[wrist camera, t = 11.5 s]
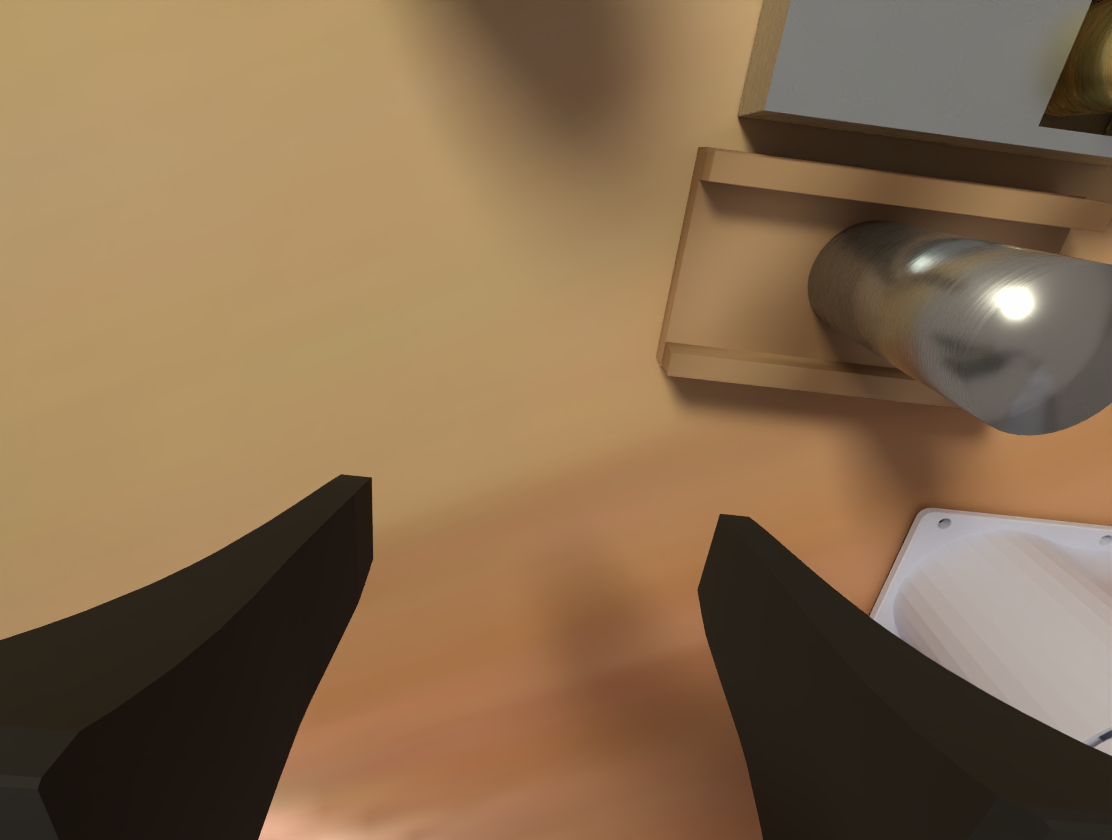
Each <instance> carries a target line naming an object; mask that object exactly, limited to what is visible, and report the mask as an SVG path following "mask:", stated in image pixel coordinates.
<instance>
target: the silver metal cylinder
mask: <svg viewBox="0 0 1112 840" xmlns="http://www.w3.org/2000/svg"><path fill="white" fill-rule="evenodd" d="M808 297H809V301H810V304H811V307H812V309H813V311H814V312H815V314H816V315H817V317H818V318H819V319H820V320H821V321H823V322H824V323H825V324H827V325H828V326H830V327H831V328H833V329H835V330H836V331H838V332H840V333H841V334H843V335H844V336H846V337H848V338H849V339H851V340H852V341H854V342H856V343H857V344H859V345H861V346H862V347H864V348H865V349H867V350H869V351H870V352H872V353H873V354H875V355H877V356H878V357H880V358H882V359H883V360H885V361H886V362H888V363H890V364H891V365H893V366H895V367H896V368H898V369H899V370H901V371H903V372H904V373H906V374H907V375H909V376H911V377H912V378H914V379H916V380H917V381H919V382H920V383H922V384H924V385H925V386H927V387H928V388H930V389H932V390H933V391H935V392H937V393H938V394H940V395H941V396H943V397H945V398H946V399H948V400H950V401H951V402H953V403H954V404H956V405H958V406H959V407H961V408H962V409H964V410H966V411H967V412H969V413H971V414H972V415H974V416H975V417H977V418H979V419H980V420H982V421H983V422H985V423H987V424H988V425H990V426H992V427H994V428H996V429H998V430H1000V431H1003V432H1006V433H1010V434H1016V435H1041V434H1047V433H1052V432H1056V431H1060V430H1063V429H1066V428H1068V427H1071V426H1074V425H1076V424H1078V423H1080V422H1082V421H1084V420H1086V419H1088V418H1090V417H1092V416H1093V415H1095V414H1096V413H1098V412H1100V411H1101V410H1102V409H1104V408H1105V407H1107V406H1108V405H1109V404H1110V403H1112V265H1110V264H1105V263H1100V262H1095V261H1089V260H1084V259H1079V258H1074V257H1069V256H1063V255H1058V254H1053V253H1048V252H1043V251H1038V250H1032V249H1027V248H1022V247H1017V246H1012V245H1006V244H1001V243H996V242H991V241H986V240H981V239H975V238H970V237H965V236H960V235H955V234H949V233H944V232H939V231H934V230H929V229H924V228H918V227H913V226H908V225H903V224H898V223H893V222H887V221H880V220H872V221H865V222H860V223H857V224H855V225H852V226H850V227H848V228H846V229H844V230H842V231H841V232H839V233H838V234H837V235H835V236H834V237H833V238H832V239H831V240H830V241H829V242H828V243H827V244H826V245H825V246H824V247H823V248H822V250H821V251H820V252H819V254H818V255H817V257H816V259H815V261H814V263H813V265H812V268H811V271H810V274H809V278H808Z"/></svg>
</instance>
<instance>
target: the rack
mask: <svg viewBox="0 0 1112 840" xmlns="http://www.w3.org/2000/svg"><path fill="white" fill-rule="evenodd" d="M1111 218H1112V203H1108V202H1101V201H1093V200H1086V199H1085V197H1079V196H1072V195H1064V194H1057V193H1049V192H1041V191H1034V190H1026V189H1019V188H1011V187H1004V186H996V185H989V184H981V183H973V182H966V181H958V180H951V179H943V178H936V177H928V176H921V175H913V174H905V173H898V172H890V171H883V170H875V169H868V168H860V167H853V166H845V165H837V164H830V163H822V162H815V161H807V160H800V159H792V158H785V157H777V156H770V155H762V154H754V153H747V152H739V151H732V150H724V149H717V148H709V147H699V148H698V153H697V158H696V163H695V167H694V172H693V177H692V182H691V187H690V192H689V197H688V202H687V207H686V212H685V217H684V222H683V227H682V232H681V236H680V241H679V246H678V251H677V256H676V261H675V266H674V271H673V276H672V281H671V286H670V291H669V296H668V301H667V306H666V310H665V315H664V320H663V325H662V330H661V335H660V340H659V345H658V350H657V355H656V358H657V360H658V362H659V364H660V366H663V368H664V370H665V372H666V374H667V376H675V377H684V378H693V379H702V380H711V381H720V382H729V383H738V384H747V385H755V386H764V387H773V388H782V389H791V390H800V391H809V392H818V393H827V394H835V395H844V396H853V397H862V398H871V399H880V400H889V401H898V402H906V403H915V404H924V405H933V406H942V407H951V408H960V409H962V408H961V407H959V406H958V405H956V404H954V403H953V402H951V401H950V400H948V399H946V398H945V397H943V396H941V395H940V394H938V393H937V392H935V391H933V390H932V389H930V388H928V387H927V386H925V385H924V384H922V383H920V382H919V381H917V380H916V379H914V378H912V377H911V376H909V375H907V374H906V373H904V372H903V371H901V370H899V369H898V368H896V367H895V366H893V365H891V364H890V363H888V362H886V361H885V360H883V359H882V358H880V357H878V356H877V355H875V354H873V353H872V352H870V351H869V350H867V349H865V348H864V347H862V346H861V345H859V344H857V343H856V342H854V341H852V340H851V339H849V338H848V337H846V336H844V335H843V334H841V333H840V332H838V331H836V330H835V329H833V328H831V327H830V326H828V325H827V324H825V323H824V322H823V321H821V320H820V319H819V318H818V317H817V315H816V314H815V312H814V311H813V309H812V307H811V304H810V301H809V297H808V278H809V274H810V271H811V268H812V265H813V263H814V261H815V259H816V257H817V255H818V254H819V252H820V251H821V250H822V248H823V247H824V246H825V245H826V244H827V243H828V242H829V241H830V240H831V239H832V238H833V237H834V236H835V235H837V234H838V233H839V232H841V231H842V230H844V229H846V228H848V227H850V226H852V225H855V224H857V223H860V222H865V221H872V220H880V221H887V222H893V223H898V224H903V225H908V226H913V227H918V228H924V229H929V230H934V231H939V232H944V233H949V234H955V235H960V236H965V237H970V238H975V239H981V240H986V241H991V242H996V243H1001V244H1006V245H1012V246H1017V247H1022V248H1027V249H1032V250H1038V251H1043V252H1048V253H1053V254H1058V253H1059V251H1060V249H1061V247H1062V245H1063V243H1064V241H1065V239H1066V237H1067V235H1068V233H1069V231H1070V229H1071V228H1074V229H1082V230H1090V231H1098V232H1104V231H1105V230H1106V228H1107V226H1108V224H1109V222H1110V220H1111Z"/></svg>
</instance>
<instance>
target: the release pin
mask: <svg viewBox="0 0 1112 840" xmlns="http://www.w3.org/2000/svg"><path fill="white" fill-rule="evenodd" d="M1044 113H1045V114H1048V115H1051V116H1073V115H1086V114H1100V113H1112V0H1105V1H1102V2H1098V3H1095V4H1091V5H1090V6H1089V9H1088V11H1087V13H1086V16H1085V18H1084V20H1083V23H1082V25H1081V27H1080V30H1079V32H1078V34H1077V37H1076V39H1075V41H1074V44H1073V46H1072V48H1071V51H1070V53H1069V55H1068V58H1067V60H1066V63H1065V65H1064V67H1063V70H1062V72H1061V74H1060V77H1059V79H1058V81H1057V84H1056V86H1055V88H1054V91H1053V93H1052V95H1051V98H1050V100H1049V102H1048V105H1047V107H1046V109H1045V112H1044Z"/></svg>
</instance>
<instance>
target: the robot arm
mask: <svg viewBox="0 0 1112 840" xmlns="http://www.w3.org/2000/svg"><path fill="white" fill-rule="evenodd" d="M942 519H944V520H943V521H942V522H940V523H939V521H940V520H942ZM372 561H373V524H372V478H371V477H361V476H351V475H342V474H341V475H340V476H338V477H336V478H334V479H333V480H331V481H330V482H328V483H327V484H325V485H324V486H322V487H321V488H319V489H318V490H316V491H315V492H313V493H312V494H310V495H309V496H307V497H306V498H304V499H303V500H301V501H300V502H298V503H297V504H295V505H293V506H292V507H290V508H289V509H287V510H286V511H284V512H283V513H281V514H280V515H278V516H276V517H275V518H273V519H272V520H270V521H269V522H267V523H265V524H264V525H262V526H260V527H259V528H257V529H255V530H254V531H252V532H250V533H248V534H247V535H245V536H243V537H242V538H240V539H238V540H236V541H235V542H233V543H231V544H229V545H228V546H226V547H224V548H223V549H221V550H219V551H217V552H215V553H214V554H212V555H210V556H208V557H206V558H204V559H202V560H200V561H198V562H196V563H194V564H192V565H191V566H188V567H186V568H184V569H182V570H180V571H178V572H176V573H174V574H172V575H170V576H167V577H165V578H163V579H161V580H159V581H157V582H155V583H152V584H150V585H148V586H145V587H143V588H141V589H138V590H136V591H133V592H131V593H128V594H126V595H123V596H121V597H119V598H116V599H114V600H111V601H109V602H106V603H104V604H101V605H99V606H96V607H94V608H92V609H89V610H87V611H84V612H81V613H79V614H76V615H73V616H70V617H68V618H65V619H62V620H59V621H56V622H53V623H51V624H48V625H45V626H42V627H39V628H36V629H33V630H30V631H27V632H24V633H21V634H18V635H15V636H12V637H9V638H6V639H3V640H0V840H258V838H259V835H260V833H261V830H262V827H263V824H264V821H265V819H266V816H267V813H268V810H269V807H270V804H271V802H272V799H273V796H274V793H275V790H276V788H277V785H278V782H279V779H280V777H281V774H282V771H283V769H284V766H285V763H286V760H287V758H288V755H289V752H290V750H291V747H292V744H293V742H294V739H295V736H296V734H297V731H298V728H299V726H300V724H301V721H302V719H303V717H304V715H305V712H306V710H307V708H308V705H309V703H310V701H311V699H312V697H313V695H314V693H315V691H316V689H317V687H318V685H319V683H320V681H321V679H322V677H323V675H324V673H325V671H326V668H327V666H328V664H329V662H330V660H331V658H332V656H333V654H334V652H335V650H336V648H337V646H338V644H339V642H340V640H341V638H342V636H343V634H344V632H345V630H346V628H347V625H348V623H349V621H350V619H351V617H352V615H353V613H354V611H355V609H356V607H357V604H358V602H359V599H360V597H361V594H362V591H363V588H364V585H365V582H366V579H367V576H368V573H369V570H370V567H371V564H372ZM698 595H699V601H700V607H701V613H702V618H703V623H704V629H705V634H706V637H707V640H708V644H709V647H710V650H711V653H712V656H713V659H714V662H715V666H716V669H717V672H718V675H719V678H720V681H721V684H722V687H723V690H724V693H725V696H726V699H727V702H728V705H729V708H730V711H731V714H732V717H733V720H734V723H735V726H736V729H737V732H738V735H739V738H740V742H741V745H742V749H743V752H744V756H745V759H746V763H747V767H748V771H749V776H750V780H751V785H752V789H753V794H754V798H755V803H756V807H757V811H758V816H759V821H760V826H761V831H762V836H763V840H1112V526H1105V525H1095V524H1085V523H1076V522H1066V521H1056V520H1047V519H1037V518H1027V517H1018V516H1008V515H998V514H989V513H979V512H969V511H960V510H950V509H940V508H926V509H923V510H922V511H920V512H919V513H918V514H917V516H916V518H915V520H914V522H913V524H912V526H911V528H910V530H909V533H908V535H907V537H906V539H905V541H904V543H903V545H902V548H901V550H900V552H899V554H898V556H897V558H896V560H895V563H894V565H893V567H892V569H891V571H890V573H889V575H888V578H887V580H886V582H885V584H884V586H883V588H882V590H881V592H880V595H879V597H878V599H877V601H876V603H875V605H874V607H873V610H872V612H871V614H870V616H868V615H867V614H866V613H864V612H863V611H862V610H860V609H859V608H858V607H856V606H855V605H854V604H853V603H851V602H850V601H849V600H847V599H846V598H845V597H844V596H842V595H841V594H840V593H839V592H837V591H836V590H835V589H834V588H832V587H831V586H830V585H829V584H828V583H826V582H825V581H824V580H823V579H822V578H820V577H819V576H818V575H817V574H816V573H815V572H813V571H812V570H811V569H810V568H809V567H807V566H806V565H805V564H804V563H803V562H802V561H801V560H799V559H798V558H797V557H796V556H795V555H794V554H792V553H791V552H790V551H789V550H788V549H787V548H786V547H785V546H783V545H782V544H781V543H780V542H779V541H778V540H776V539H775V538H774V537H773V536H772V535H771V534H770V533H768V532H767V531H766V530H765V529H764V528H762V527H761V526H760V525H759V524H758V523H756V522H755V521H754V520H752V519H751V518H750V517H745V516H736V515H726V514H720V516H719V519H718V523H717V526H716V529H715V533H714V536H713V539H712V543H711V546H710V550H709V553H708V556H707V560H706V563H705V566H704V570H703V573H702V577H701V580H700V583H699V587H698Z"/></svg>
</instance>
